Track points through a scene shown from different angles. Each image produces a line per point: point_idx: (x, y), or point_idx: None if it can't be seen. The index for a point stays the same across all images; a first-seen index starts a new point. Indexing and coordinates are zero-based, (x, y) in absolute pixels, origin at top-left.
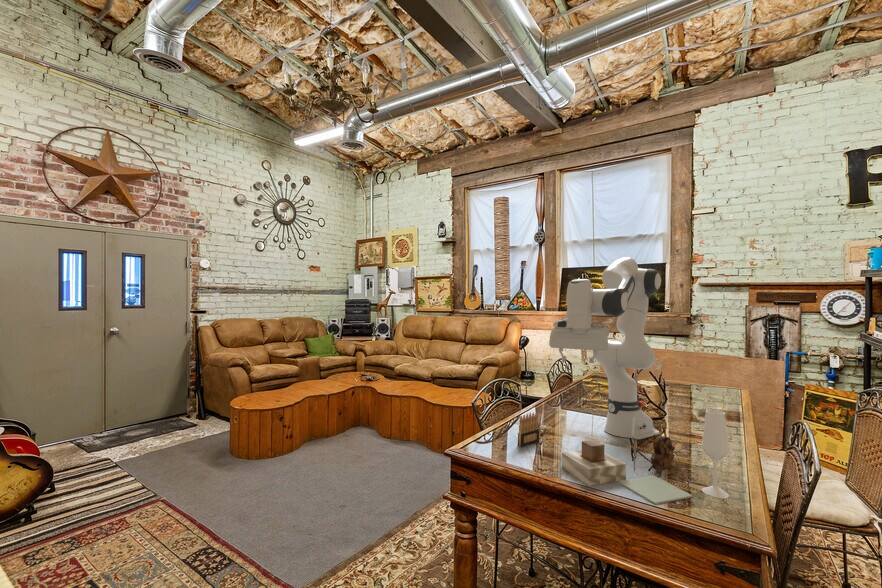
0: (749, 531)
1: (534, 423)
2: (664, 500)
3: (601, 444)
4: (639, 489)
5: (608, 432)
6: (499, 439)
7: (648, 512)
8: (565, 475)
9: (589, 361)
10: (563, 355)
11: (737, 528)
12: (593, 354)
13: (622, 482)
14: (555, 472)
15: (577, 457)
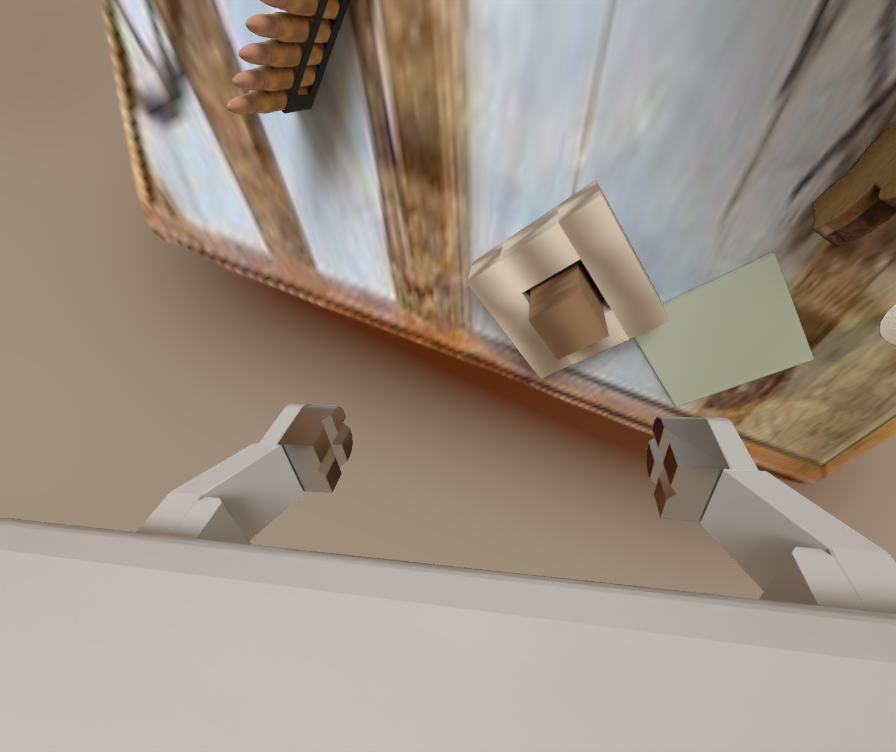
0: (825, 459)
1: (298, 8)
2: (707, 394)
3: (597, 336)
4: (669, 356)
5: None
6: (194, 29)
7: (643, 430)
8: (484, 311)
9: (652, 455)
10: (293, 499)
11: (807, 454)
12: (780, 526)
13: None
14: (457, 300)
15: (515, 309)
